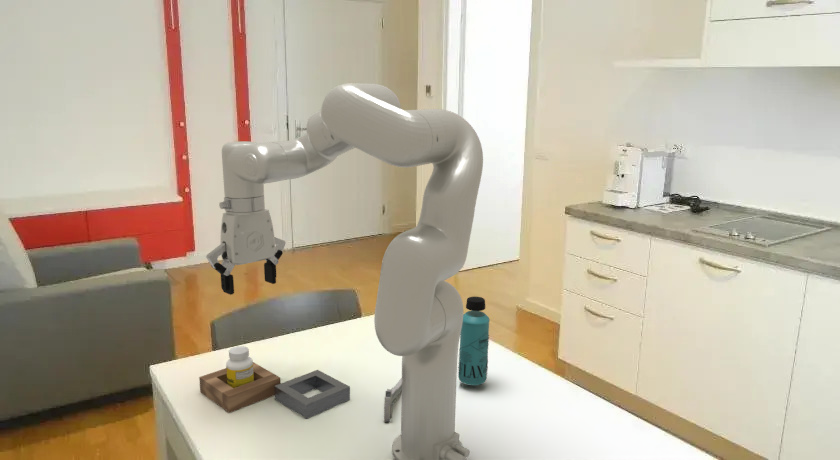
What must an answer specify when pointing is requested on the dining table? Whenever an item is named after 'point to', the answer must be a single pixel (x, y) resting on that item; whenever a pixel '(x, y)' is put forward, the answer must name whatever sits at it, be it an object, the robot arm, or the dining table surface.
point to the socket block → (308, 407)
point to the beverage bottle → (474, 343)
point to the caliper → (391, 400)
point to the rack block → (238, 388)
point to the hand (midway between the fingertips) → (250, 287)
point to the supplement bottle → (239, 367)
